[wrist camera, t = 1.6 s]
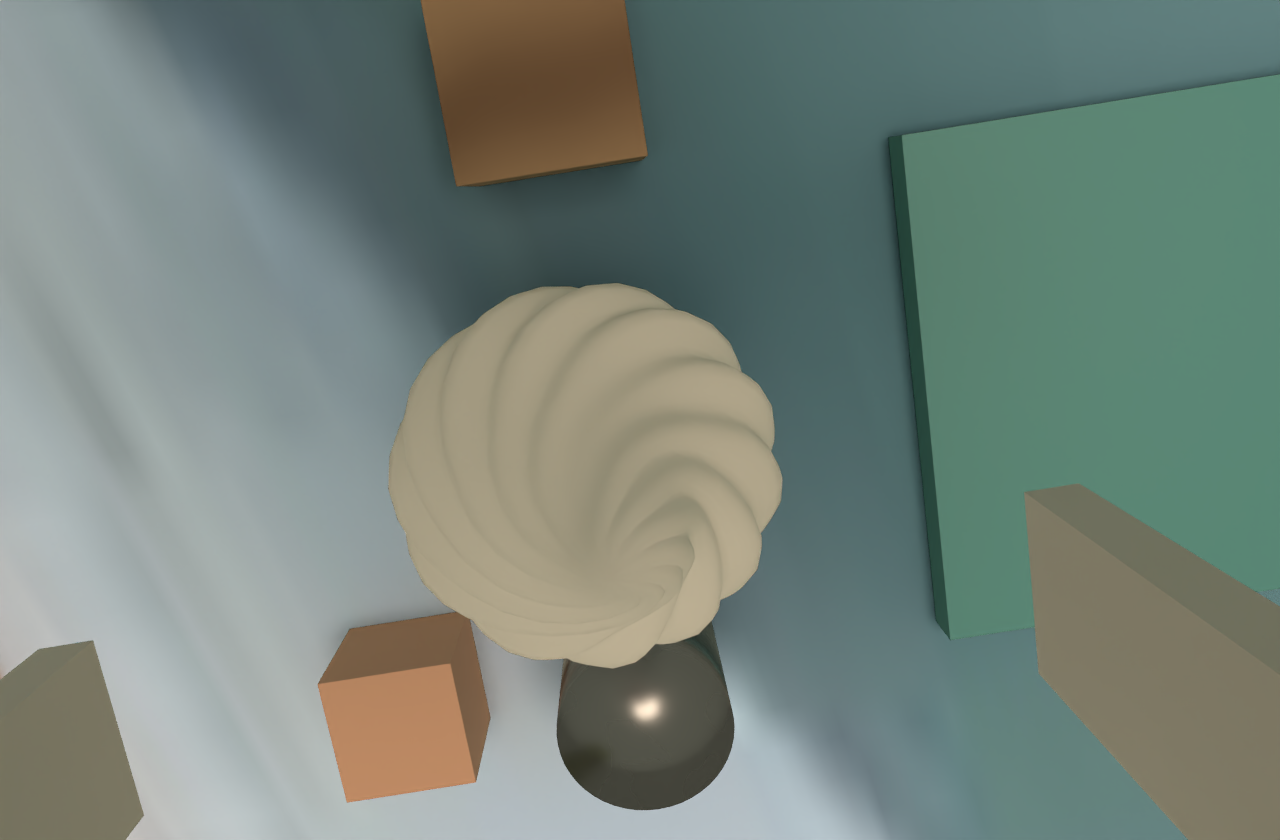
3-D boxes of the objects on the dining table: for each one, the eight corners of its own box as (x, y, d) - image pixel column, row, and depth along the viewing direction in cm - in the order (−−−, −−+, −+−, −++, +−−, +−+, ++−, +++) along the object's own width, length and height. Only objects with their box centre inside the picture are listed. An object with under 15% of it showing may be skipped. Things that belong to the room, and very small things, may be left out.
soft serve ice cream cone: (444, 479, 34) (299, 737, 18) (488, 223, 32) (369, 262, 16) (696, 527, 34) (768, 817, 19) (753, 278, 32) (885, 366, 17)
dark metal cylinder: (554, 582, 34) (542, 664, 29) (702, 558, 34) (721, 636, 29) (579, 717, 36) (573, 822, 30) (723, 694, 36) (745, 795, 30)
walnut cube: (447, 14, 31) (417, -19, 26) (615, -14, 30) (616, -52, 26) (480, 186, 32) (456, 186, 27) (641, 160, 32) (647, 155, 27)
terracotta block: (350, 627, 35) (317, 684, 31) (468, 609, 35) (450, 663, 31) (376, 734, 36) (346, 802, 32) (490, 716, 36) (475, 782, 32)
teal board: (888, 137, 32) (901, 135, 30) (1345, 63, 31) (1382, 58, 30) (936, 621, 35) (950, 640, 34) (1346, 556, 35) (1379, 572, 34)
